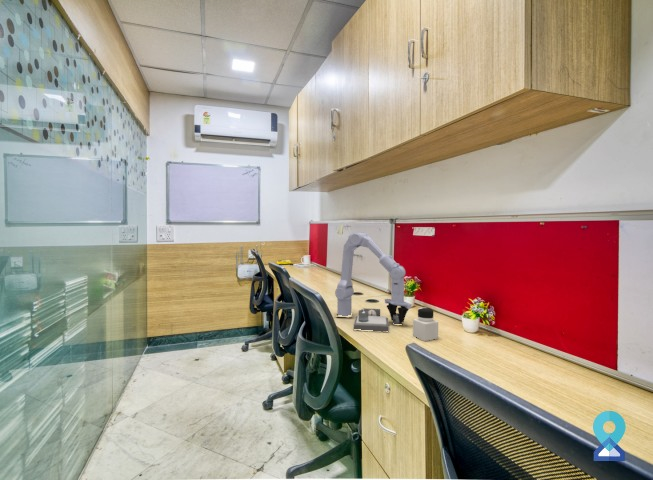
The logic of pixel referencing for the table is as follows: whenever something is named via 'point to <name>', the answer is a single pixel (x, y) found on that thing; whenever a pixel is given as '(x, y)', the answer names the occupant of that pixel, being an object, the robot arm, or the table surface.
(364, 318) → the weight
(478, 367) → the table surface
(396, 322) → the cylinder
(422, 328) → the medicine bottle
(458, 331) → the table surface
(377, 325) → the scale
